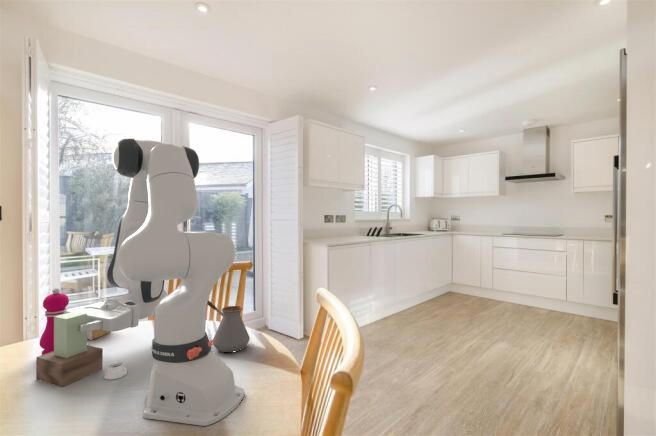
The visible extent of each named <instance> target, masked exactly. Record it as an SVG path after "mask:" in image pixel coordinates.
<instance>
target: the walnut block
mask: <svg viewBox="0 0 656 436" xmlns="http://www.w3.org/2000/svg"><path fill="white" fill-rule="evenodd" d="M103 350H104V348H102V347H97V346H94V345H91V344H90V345H89V344H87V351H85V352H82V353H79V354H76V355H74V356H71V357H68V358H64V357H60V356H56V355H54V351H53V352H50V353H47V354H44V355H42V354H41V355H39V356H36V358H35V359H36V367H35V369H36V370H35V371H36V372H35V373H36V374H35V379H36V380H37V381H41V382H44V383H47V384H51V385H53V386H56V387H60V388H64V387H67V386H69V385H71V384H73V383H75V382H77V380H78V381H79V380H82V379H84V378H86V377H89V376H91V375H93V374H95V373H99V372H100V371H102V370H103V364H104V363H103V360H104V359H103V354H104V353H103Z"/></svg>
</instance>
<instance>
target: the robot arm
mask: <svg viewBox="0 0 656 436" xmlns="http://www.w3.org/2000/svg"><path fill="white" fill-rule="evenodd" d="M199 158H200V157H199V155H198V153H197V152H196V151H195V150H194V149H192V148H190V147H187V146H184V145H182V146H179V145H176V144H172V143H167V142H161V141H157V140H149V139H147V140H146V139H144V140H143V139H135V138H122V139H121V138H120V139H119V140H118V141H117V142H116V143H115V146H114V147H113V150H112V153H111V159H112V161H111V162H112V165H113V166H114V169H115V171H116V172H117V173H118V174H119V176H123V177H127V178H131V179H130V184H129V189H128V202H127V207H126V210H125V212H124V214H123V215H122V216H121V218H120V220H119V224H118V226H117V227H118V228H117V232H116V233H117V234H116V239H115V245H114V251H113V255H112V259H111V261H110V264H109V266H108V269H107V273H106V274H107V275H106V276H107V277H106V278H107V280H108V282H109V284H110V285H111V286H113V287H116V288H120V289H124V290H126V291H127V290H128V292H127V293H126V294H124V295H119V296H116V297H111V298H108V299H107V300H105V301H104V302H105V303H104V305H103V306H96V305H92V304H87V305H81V306H80V305H79V306H77V307H71V308H66V309H67V310H65V311H64V314H67V313H70V312H74V311H75V312H81V313H87V323H84V324H80V325H79V326H78V331H80V332H86V331H90V330H98V329H99V330H104V331H109V332H110V333H113V332H119V331H122V330H126V329H129V328H135V327H138V326H139V320H143V319H146V318H150V317H151V316H154V332H153V333H154V336H153V337H154V338H153V339H152V340H151V348H150V349H151V356H152V358H153V360H152V367H151V370H150V376H149V382H148V391H147V394H146V397H145V401H144V406H145V407H144V410H143V413H142V416H143V418H144V419H151V420H157V421H166V422H172V423H181V424H187V425H194V426H200V427H204V426H205V427H206V426H210V425H212V424H215V423H216V422H219V421H221V420H222V419H224V418H226V417H227V416H228V415H229V414H231V413H232V412H233V411H234V410H235V409H236V408H237V407H238V406H240V404H241V403H242V401H243V400H244V398H245V389H244V388H242V387H240V386H238V385H236V384H235V378H234V377H235V376H234V373H233V370H232V369H231V368H230V367H229V366H228V365H227V364H226V363H225V362H224V361H223V360H221V358H220V357H219V356H218V355H217V354H216V353H214V351H213V350H212V346H214V345H213V344H215V343H213V341H214V340H215V339H214V338H213V339H212V340H210V339H209V336H208V333H207V331H206V320H207V309H208V305H207V303H208V301H209V298H210V295H211V293H212V291H213V289H214V287H215V285H216V283H217V282H218V281H219V280H220V278H221V277H222V276H223V275H224V274H225V273H226V272H227V271H228V270H230V269H231V267H232V266H233V264H234V263H235V260H236V247H235V246H236V245H235V244H234V242H233V240H232V238H231V237H230V236H229V235H228V234H225V233H220V232H215V231H207V230H206V231H181V230H179V228H178V226H179V225H180V224H182V223H185V222H188V220H190V219H192V218H193V217H194V216H195V215H196V213H197V211H198V208H199V200H198V194H197V188H196V183H195V178H197V176H198V174H199V170H200V159H199ZM180 279H181V280H180ZM171 280H180V283H179V285H178V286H177V287H176V288H175V290H173V291H172V292H171V293H168V292H167V291H166V290H165V287H164V286H165V281H171ZM243 397H244V398H243ZM242 399H243V400H242ZM241 400H242V401H241ZM240 402H241V403H240ZM239 403H240V404H239ZM231 411H232V412H231Z"/></svg>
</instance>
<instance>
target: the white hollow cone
mask: <svg viewBox="0 0 656 436" xmlns="http://www.w3.org/2000/svg"><path fill="white" fill-rule="evenodd" d="M127 373H128V370H127V368H126V367H125V365H124V364H123V362H114V363H111V364H110V365H109V366H108V368H107V370H106V371H105V374H104V375H103V377H104V379H105V380H110V381H111V380H113V381H114V380H118V379H120V378H123V377H124V376H126V375H127Z"/></svg>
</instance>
